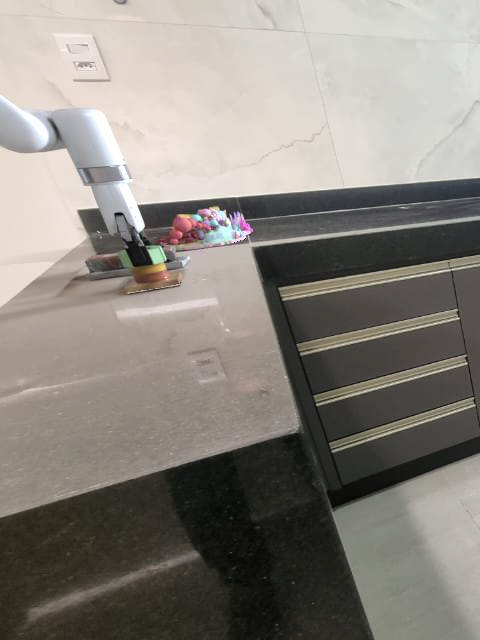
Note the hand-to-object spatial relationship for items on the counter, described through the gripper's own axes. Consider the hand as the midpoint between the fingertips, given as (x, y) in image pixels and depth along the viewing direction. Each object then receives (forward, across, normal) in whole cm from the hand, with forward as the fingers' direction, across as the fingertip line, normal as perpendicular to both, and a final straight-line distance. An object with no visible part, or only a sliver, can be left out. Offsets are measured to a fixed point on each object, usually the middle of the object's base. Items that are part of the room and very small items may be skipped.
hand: (145, 261), depth 114 cm
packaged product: (+6, -21, -4) cm, 22 cm away
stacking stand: (+5, 0, 0) cm, 5 cm away
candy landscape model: (+6, -53, +9) cm, 54 cm away
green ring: (0, 0, 0) cm, 0 cm away
